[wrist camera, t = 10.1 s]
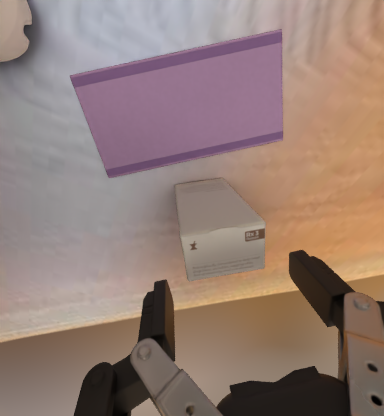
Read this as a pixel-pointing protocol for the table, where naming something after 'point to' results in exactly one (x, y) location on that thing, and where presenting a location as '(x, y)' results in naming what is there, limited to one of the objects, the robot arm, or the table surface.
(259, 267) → the cosmetic box
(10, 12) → the water bottle
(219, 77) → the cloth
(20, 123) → the table surface
